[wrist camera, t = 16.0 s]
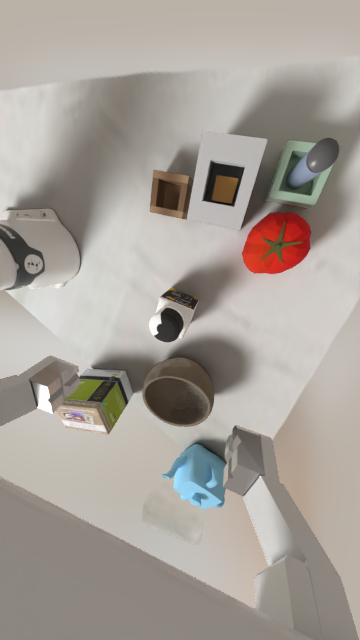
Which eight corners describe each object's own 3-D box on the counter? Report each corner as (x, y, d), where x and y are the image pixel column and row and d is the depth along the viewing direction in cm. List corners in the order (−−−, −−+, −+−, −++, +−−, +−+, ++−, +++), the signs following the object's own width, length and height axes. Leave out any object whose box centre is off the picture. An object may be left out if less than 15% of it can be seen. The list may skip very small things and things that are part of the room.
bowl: (222, 397, 53) (219, 430, 44) (166, 398, 59) (153, 427, 51) (207, 345, 47) (200, 371, 38) (146, 352, 53) (128, 376, 45)
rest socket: (265, 200, 32) (268, 197, 29) (282, 150, 29) (288, 139, 25) (306, 208, 31) (315, 205, 28) (328, 157, 28) (341, 146, 24)
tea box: (97, 390, 67) (64, 428, 54) (87, 367, 63) (49, 402, 50) (134, 394, 62) (108, 436, 50) (126, 369, 59) (95, 408, 46)
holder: (159, 213, 37) (149, 211, 33) (163, 176, 35) (153, 169, 31) (187, 219, 36) (181, 218, 33) (194, 182, 34) (188, 175, 30)
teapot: (227, 444, 61) (224, 496, 49) (228, 475, 67) (226, 526, 55) (173, 434, 66) (159, 478, 54) (179, 463, 72) (168, 508, 61)
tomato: (314, 240, 33) (336, 243, 25) (263, 282, 37) (270, 294, 30) (278, 199, 32) (291, 190, 24) (231, 247, 36) (229, 252, 29)
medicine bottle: (199, 298, 42) (187, 320, 32) (189, 324, 46) (175, 352, 35) (170, 287, 43) (149, 305, 33) (163, 313, 47) (141, 337, 36)
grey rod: (282, 187, 30) (303, 169, 21) (290, 165, 29) (316, 136, 20) (301, 190, 30) (330, 173, 21) (310, 168, 28) (344, 140, 19)
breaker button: (213, 201, 32) (211, 199, 30) (218, 178, 30) (216, 174, 28) (231, 205, 31) (231, 203, 29) (238, 182, 30) (238, 178, 28)
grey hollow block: (197, 221, 36) (186, 219, 28) (211, 155, 31) (202, 130, 24) (239, 230, 35) (239, 230, 27) (260, 162, 30) (267, 139, 22)
